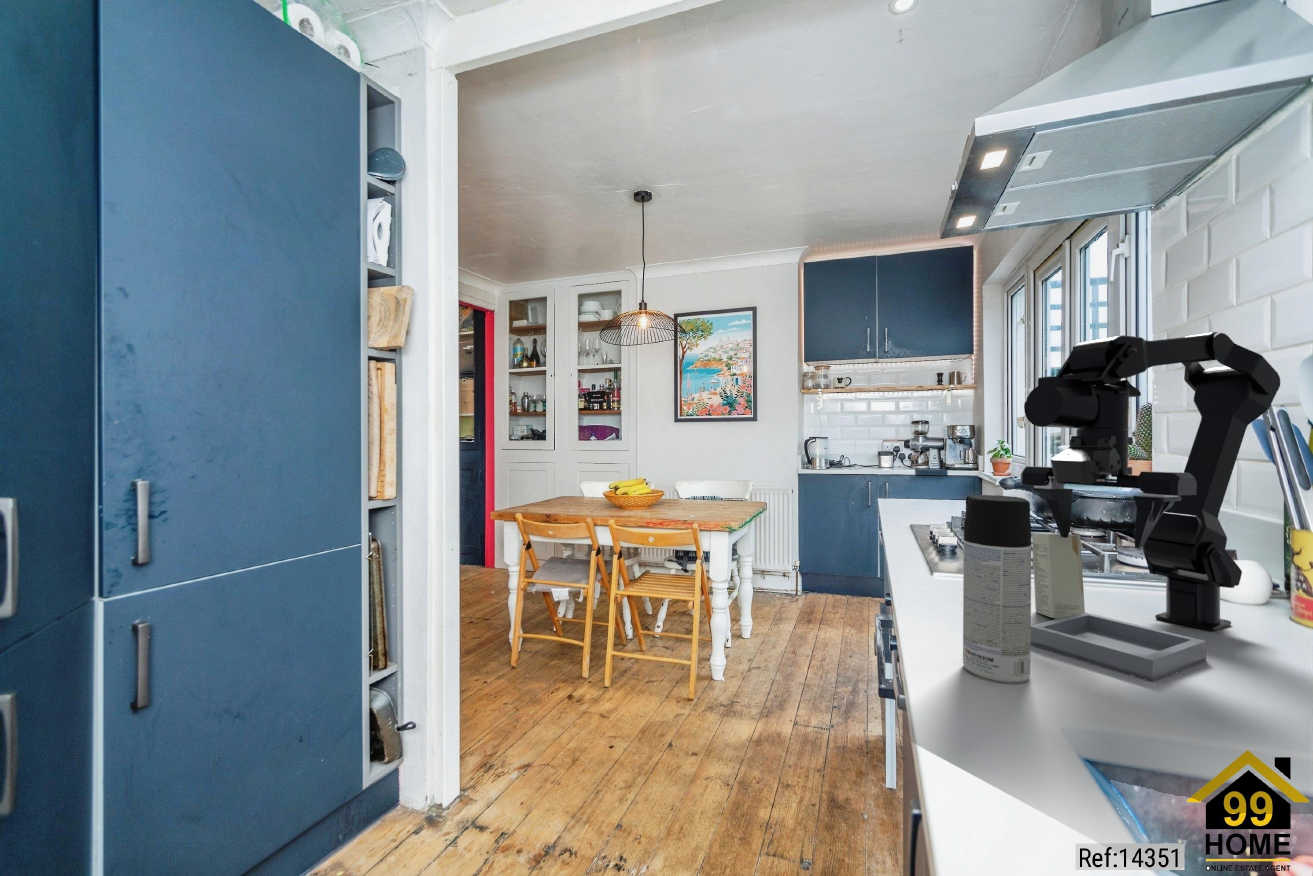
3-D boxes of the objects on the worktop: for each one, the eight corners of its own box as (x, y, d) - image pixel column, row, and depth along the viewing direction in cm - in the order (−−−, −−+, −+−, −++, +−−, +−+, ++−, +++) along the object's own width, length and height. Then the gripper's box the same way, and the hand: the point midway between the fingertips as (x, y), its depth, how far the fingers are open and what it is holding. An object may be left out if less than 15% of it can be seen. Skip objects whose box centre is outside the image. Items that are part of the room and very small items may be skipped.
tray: (1084, 630, 80) (1084, 612, 80) (1206, 662, 69) (1206, 641, 69) (1029, 645, 74) (1029, 626, 74) (1152, 683, 63) (1152, 660, 63)
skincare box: (1086, 622, 82) (1083, 535, 83) (1052, 619, 83) (1049, 533, 84) (1065, 613, 88) (1062, 532, 89) (1033, 611, 89) (1031, 531, 90)
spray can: (1022, 666, 67) (1021, 495, 68) (1039, 689, 61) (1039, 501, 61) (958, 659, 70) (958, 493, 70) (968, 681, 63) (968, 499, 63)
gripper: (999, 428, 84) (997, 535, 84) (1156, 426, 68) (1154, 559, 67) (1043, 430, 89) (1041, 531, 89) (1199, 429, 73) (1197, 553, 73)
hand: (1099, 542), depth 79 cm, fingers open, 8 cm apart
